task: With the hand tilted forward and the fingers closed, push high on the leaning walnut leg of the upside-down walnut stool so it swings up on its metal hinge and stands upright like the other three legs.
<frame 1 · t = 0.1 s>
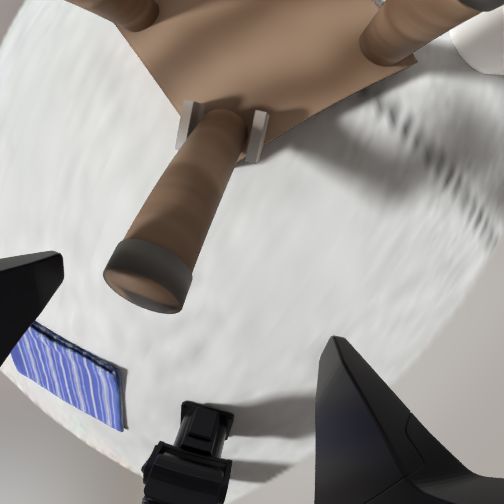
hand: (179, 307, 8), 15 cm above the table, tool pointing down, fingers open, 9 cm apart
foam cup: (475, 42, 14), on the table
hinged leg: (190, 189, 13), point 8 cm above the table, hinge at 32.0°
stool: (258, 29, 17), on the table
dish towel: (60, 365, 35), on the table
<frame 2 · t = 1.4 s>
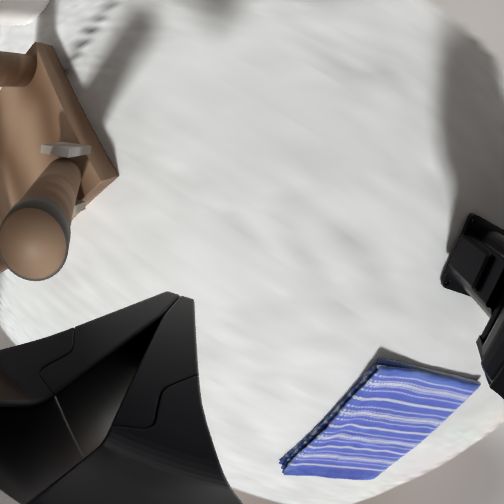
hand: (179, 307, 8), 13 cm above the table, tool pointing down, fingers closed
foam cup: (37, 1, 14), on the table
hinged leg: (50, 201, 13), point 8 cm above the table, hinge at 36.3°
stool: (31, 158, 21), on the table
dish towel: (374, 429, 29), on the table
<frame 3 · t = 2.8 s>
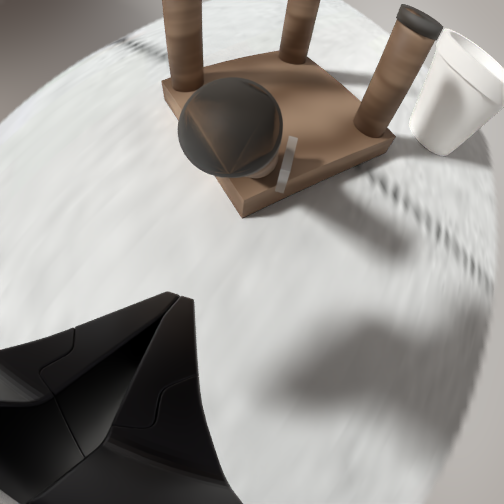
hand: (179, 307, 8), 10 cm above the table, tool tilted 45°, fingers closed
foam cup: (429, 136, 28), on the table
hinged leg: (247, 146, 13), point 8 cm above the table, hinge at 36.3°
stool: (274, 118, 25), on the table
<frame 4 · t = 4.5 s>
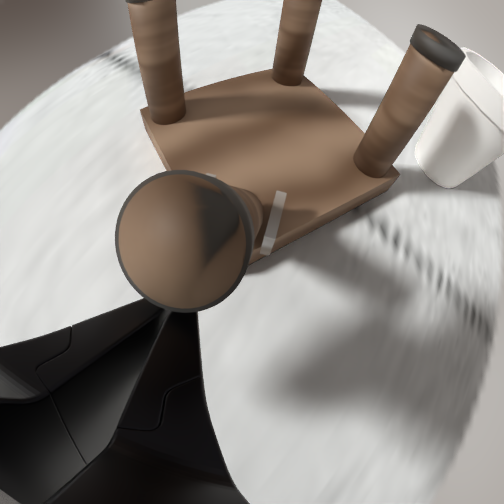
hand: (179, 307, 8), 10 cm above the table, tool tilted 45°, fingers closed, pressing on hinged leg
foam cup: (436, 165, 26), on the table
hinged leg: (221, 222, 12), point 8 cm above the table, hinge at 33.0°, touching gripper
stool: (264, 152, 24), on the table
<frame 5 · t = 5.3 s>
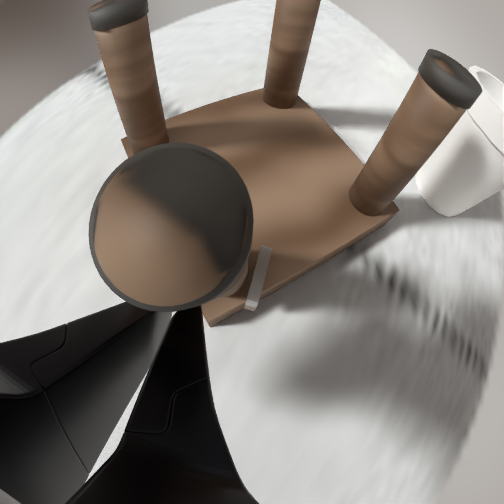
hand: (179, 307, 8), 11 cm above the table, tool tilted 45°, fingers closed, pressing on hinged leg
foam cup: (438, 190, 25), on the table
hinged leg: (206, 257, 10), point 9 cm above the table, hinge at 14.1°, touching gripper
stool: (253, 185, 23), on the table
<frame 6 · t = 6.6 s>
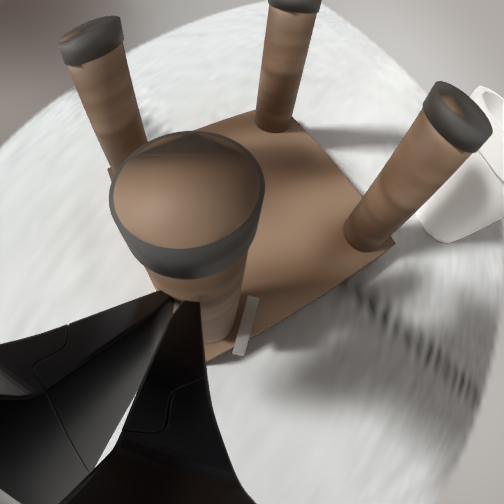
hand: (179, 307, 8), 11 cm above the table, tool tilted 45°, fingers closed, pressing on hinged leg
foam cup: (437, 215, 24), on the table
hinged leg: (200, 281, 10), point 9 cm above the table, hinge at -4.7°, touching gripper
stool: (244, 217, 22), on the table
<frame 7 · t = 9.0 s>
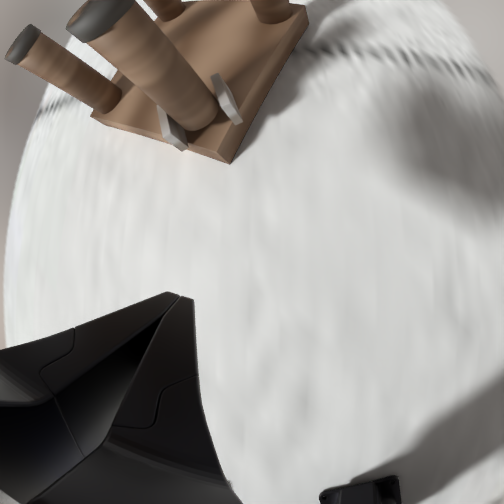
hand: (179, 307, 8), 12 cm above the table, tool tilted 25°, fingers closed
hinged leg: (153, 64, 13), point 9 cm above the table, hinge at -3.4°
stool: (197, 68, 23), on the table
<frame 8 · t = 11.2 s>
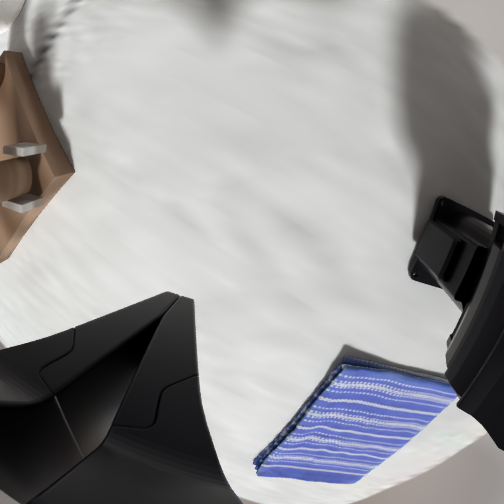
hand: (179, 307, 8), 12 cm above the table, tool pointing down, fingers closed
foam cup: (10, 10, 13), on the table
stool: (4, 159, 20), on the table
dish towel: (351, 431, 28), on the table
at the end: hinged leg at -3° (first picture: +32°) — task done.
